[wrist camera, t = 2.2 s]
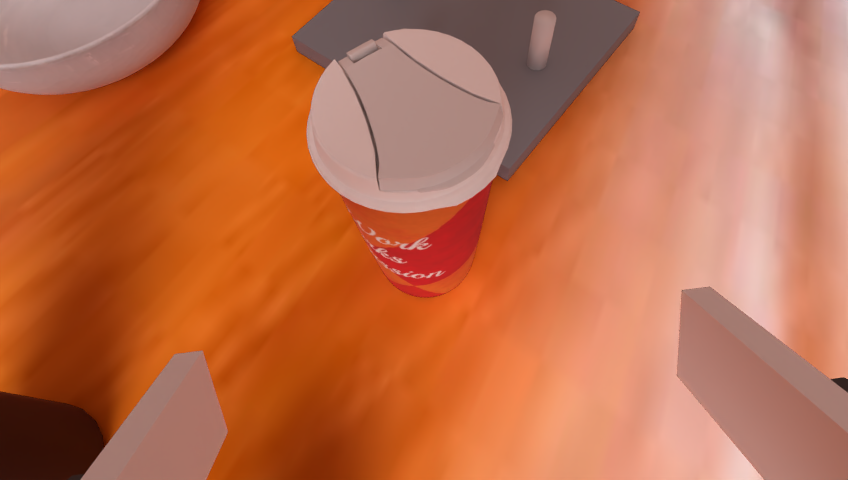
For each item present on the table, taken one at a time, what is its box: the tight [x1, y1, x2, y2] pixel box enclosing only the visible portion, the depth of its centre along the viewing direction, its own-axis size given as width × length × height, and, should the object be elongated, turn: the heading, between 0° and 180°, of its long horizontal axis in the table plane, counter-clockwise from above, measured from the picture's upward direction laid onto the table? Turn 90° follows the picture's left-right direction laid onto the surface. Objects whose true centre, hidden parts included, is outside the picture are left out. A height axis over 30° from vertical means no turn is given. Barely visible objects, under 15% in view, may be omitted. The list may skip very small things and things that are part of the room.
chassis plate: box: [292, 0, 640, 181], centre depth 38 cm, size 20×17×6 cm
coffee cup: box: [307, 29, 512, 297], centre depth 26 cm, size 8×8×15 cm
